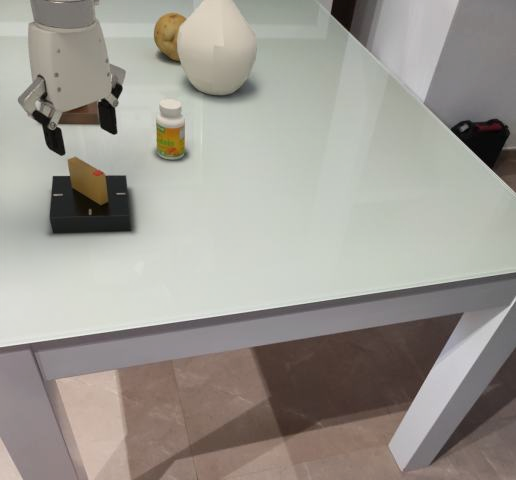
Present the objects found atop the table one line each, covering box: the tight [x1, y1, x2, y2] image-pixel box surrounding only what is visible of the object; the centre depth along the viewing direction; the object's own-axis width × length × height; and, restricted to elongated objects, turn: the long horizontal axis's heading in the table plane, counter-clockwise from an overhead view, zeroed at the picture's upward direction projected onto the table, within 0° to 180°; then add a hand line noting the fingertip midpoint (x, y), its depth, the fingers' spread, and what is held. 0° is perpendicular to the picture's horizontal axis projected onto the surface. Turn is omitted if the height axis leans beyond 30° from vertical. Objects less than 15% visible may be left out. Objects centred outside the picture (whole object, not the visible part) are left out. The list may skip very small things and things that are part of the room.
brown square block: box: [40, 100, 100, 125], centre depth 106 cm, size 11×10×4 cm
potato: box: [153, 12, 187, 62], centre depth 130 cm, size 10×12×10 cm
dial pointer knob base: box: [49, 174, 132, 234], centre depth 84 cm, size 12×12×3 cm
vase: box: [177, 0, 258, 96], centre depth 113 cm, size 18×18×30 cm
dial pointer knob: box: [66, 156, 108, 205], centre depth 81 cm, size 7×2×5 cm, turn 52°
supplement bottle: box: [155, 98, 186, 161], centre depth 97 cm, size 5×5×10 cm
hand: (84, 141), depth 77 cm, fingers open, 9 cm apart
